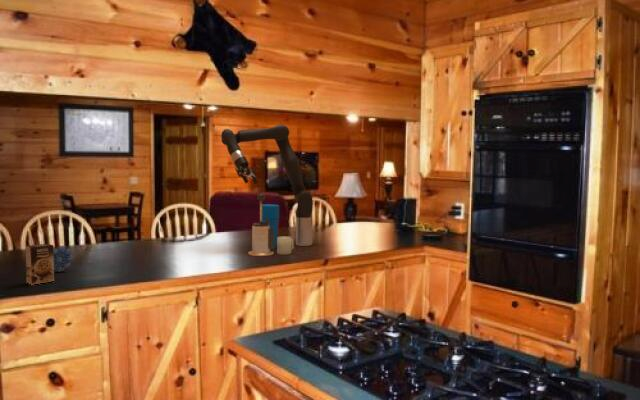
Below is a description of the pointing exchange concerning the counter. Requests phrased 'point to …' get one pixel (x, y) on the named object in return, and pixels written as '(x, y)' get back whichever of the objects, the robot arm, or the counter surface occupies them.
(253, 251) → the beige cylinder with base
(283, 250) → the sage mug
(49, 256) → the coffee box
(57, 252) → the grapes
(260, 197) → the plunger
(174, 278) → the counter surface
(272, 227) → the blue tapered block
